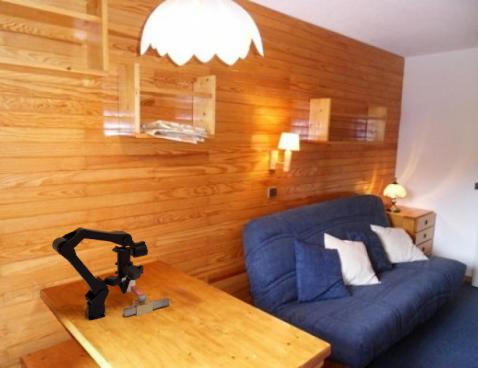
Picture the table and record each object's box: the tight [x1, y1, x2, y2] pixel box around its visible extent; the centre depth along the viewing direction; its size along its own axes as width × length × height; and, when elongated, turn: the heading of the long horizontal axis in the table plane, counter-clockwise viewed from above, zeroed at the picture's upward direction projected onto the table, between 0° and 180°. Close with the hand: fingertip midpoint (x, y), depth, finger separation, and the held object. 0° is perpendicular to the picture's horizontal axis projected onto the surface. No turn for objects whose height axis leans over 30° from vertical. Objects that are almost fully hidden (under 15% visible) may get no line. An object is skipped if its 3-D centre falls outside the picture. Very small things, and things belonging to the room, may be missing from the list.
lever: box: [131, 285, 147, 301], centre depth 165 cm, size 14×3×2 cm, turn 35°
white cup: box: [126, 280, 136, 293], centre depth 183 cm, size 8×8×10 cm
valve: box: [122, 296, 171, 318], centre depth 163 cm, size 20×6×5 cm, turn 125°
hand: (124, 293), depth 165 cm, fingers closed
